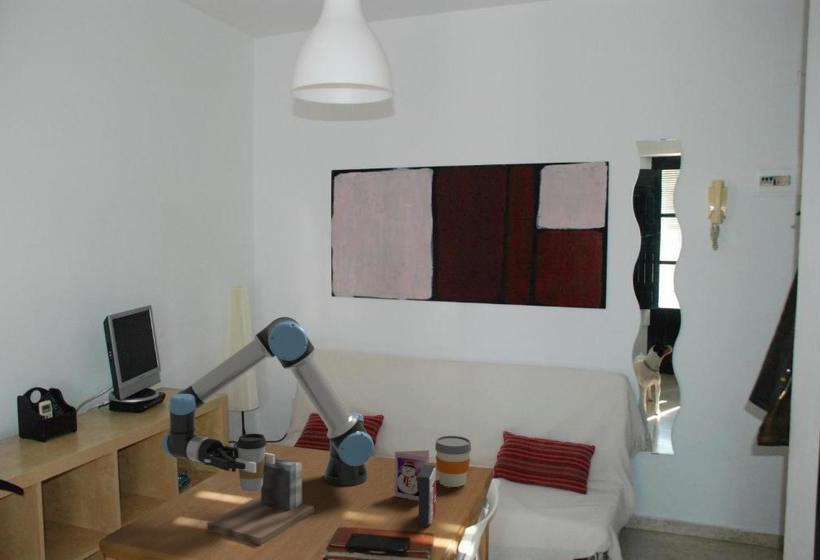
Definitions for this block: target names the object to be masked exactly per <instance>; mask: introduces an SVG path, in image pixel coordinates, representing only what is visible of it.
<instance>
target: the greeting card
mask: <svg viewBox="0 0 820 560" xmlns="http://www.w3.org/2000/svg"><path fill="white" fill-rule="evenodd" d="M429 460H430V450H426V449H425V450H404V451H403V450H401V451H399V450H398V451H394V489H393V490H394V493H393V494H394V495H393V496H394V497H399V498H403V499H407V498H408V500H412V499H414V500H413V501H417V500H419V491H418V489H417V477H418V475H419V473H420V471H421V469H422V467H423V465H430V461H429Z"/></svg>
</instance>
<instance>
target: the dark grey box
mask: <svg viewBox="0 0 820 560" xmlns="http://www.w3.org/2000/svg"><path fill="white" fill-rule="evenodd" d="M436 469H437V467H436V466H435V465H431V464H429V465H423V467H422V469H421V471H420V473H419V475H418V477H417V489H418V491H419V501H418V526H422V527H429V525H431V523H432V521H433V519H434V516H435V514H436V508H437V507H436V506H437V503H436V502H437V480H436V478H437V477H436V476H437V473H436V471H437V470H436Z"/></svg>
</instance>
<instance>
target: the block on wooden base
mask: <svg viewBox="0 0 820 560" xmlns="http://www.w3.org/2000/svg"><path fill="white" fill-rule="evenodd" d="M313 512H314V513H315V506H314V505H310V504H306V503H303V462H298V461H293V460H289V459H285V458H280V457H275V464H270V463H265V464H264V477H263V485H262V488H261V489H260V495H259V496H257V497H255V498H253V499H251V500H249V501H247V502H245V503H242V504H240V505H239V506H237V507H235V508H233V509H231V510H230V511H228V512H226V513H225V512H224V514H221V515H220V516H218V517H216V518H214V519H212V520H210V521H208V522H206V530H207V531H210V532H213V533H216V534H220V535H224V536H227V537H231V538H234V539H237V540H241V541H244V542H248V543H250V544H255V545H258V546H263V545H264V544H266V543H268V542H269V541H271V540H272V539H274V538H276V537H277V536H279V535H280V534H282V533H283V532H286V531H287V530H288V529H291V528H292V527H293V526H295V525H297V524H298V523H299V522H301V521H303V520H304V518H305V519H307V518H308V517H310V516H311V515H312V513H313ZM314 513H313V514H314ZM310 514H311V515H310ZM307 516H308V517H307ZM291 526H292V527H291Z"/></svg>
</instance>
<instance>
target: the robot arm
mask: <svg viewBox="0 0 820 560" xmlns="http://www.w3.org/2000/svg"><path fill="white" fill-rule="evenodd" d="M315 351H316V349H315V347H314V345H313V343H312V342H311V340H310V339H309V337H308V334H307V333H306V331H305V329H304V328H303V327H302V326H301V325H300V324H299V322H298V321H296V320H295V319H293V318H292V317H288V316H283V317H282V316H281V317H278V318H276V319H274V320H273V321H271V322H270V323H269V324H268V325H266V326H265V327H264V328H263V329H261V330H260V331H259V332H258V333H256V334H254V338H253V340H251V342H249V343H248V344H246V345H244V346H243V347H242V348H241V349H239V350H237V352H235V353H234V354H233V355H231V356H229V357H228V358H227V359H226V360H224V361H222V362H221V363H220V364H218V365H217V366H216V367H214V368H213V369H211V370H210V371H209V372H207V373H206V374H204V375H203V376H202V377H200V378H199V379H198V380H196V381H195V382H193V383H192V384H191V385H189V386H188V387H186V388H185V389H181V390H179V391H178V392H177V393H176V394H174V395H172V396H170V398H169V407H168V410H169V431H168V432H167V433H166V434H165V435H164V437H163V440H162V442H161V448H162V451H163V452H164V453H165V454H166V455H168V456H171V457H174V458H177V459H184V460H189V461H191V462H192V461H193V462H197V463H198V464H201V463H202V464H204V465H205V466H212V467H215V468H217V469H220V470H223V471H227V472H229V471H230V470H231V472H234V473H235V472H236V471H237V470H238V471H239V470H244V471H248V472H252V473H255V472H256V463H255V462H250V461H246V460H241V459H238V447H237V444H238V443H234V444H233V446H229V445H224V444H223V443H222V441H221V440H218V439H215V438H209V437H207V436H201V435H200V436H199V435H196V411H197V410H198V409H199V408H201V407H202V406H203V405H204V404H206V403H207V402H209V401H210V400H211V399H213V398H214V397H215V396H217V395H218V394H219V393H221V392H223V391H224V390H225V389H227V388H228V387H229V386H230V385H232V384H233V383H234V382H236V381H238V380H239V379H240V378H242V377H243V376H244V375H246V374H247V373H248V372H250V371H252V370H253V369H254V368H255V367H257V366H258V365H260V364H261V363H262V362H263V361H265V360H266V359H269V358H270V359H272V358H275V357H276V358H277V360H278V362H279V363H280V365H281V366H282V367H283V369H285V370H289V371H291V373H292V375H293V376H294V378H295V380H297V382H298V384H299V385H300V387H301V389H302V390H303V392H304V394H305V395H306V396H307V398H308V399H309V401H310V403H311V405H312V406H313V407H314V409H315V411H316V412H317V414H318V415H319V417H320V418H321V420H322V422H323V423H324V425H325V426H326V428H327V429H328V430H327V433H326V437H327V439H328V440H329V458H328V462H327V464H326V468H325V471H324V480H325V481H326V482H327V483H329V484H331V485H335V486H341V487H342V486H356V485H360V484H362V483H364V482H366V481H367V480H368V469H367V465H366V463H367V462H368V461H369V460H370V459H371V458H372V456H373V454H374V453H373V452H374V449H375V445H374V440H373V438H372V436H370V434H369V433H368V432H367V430H366V428H365V426H364V416H363V414H362V413H358V412H350V411H349V410H348V409H347V407H346V405H345V403H344V402H343V400H342V398H341V397H340V396H339V394H338V393H337V391H336V389H335V387H334V386H333V385H332V382H331V381H330V380H329V378H328V376H327V375H326V373H325V372H324V370H323V368H322V367H321V364H319V362H318V360H317V359H316V357H315V356H314V355H315ZM275 458H276V455H275V454H274V453H270V452H265V463H270V464H275Z"/></svg>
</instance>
